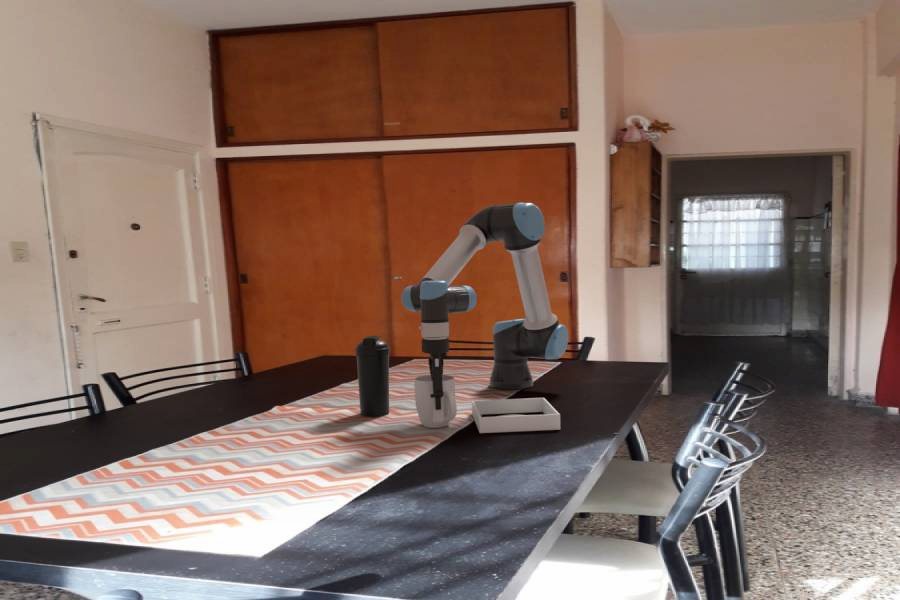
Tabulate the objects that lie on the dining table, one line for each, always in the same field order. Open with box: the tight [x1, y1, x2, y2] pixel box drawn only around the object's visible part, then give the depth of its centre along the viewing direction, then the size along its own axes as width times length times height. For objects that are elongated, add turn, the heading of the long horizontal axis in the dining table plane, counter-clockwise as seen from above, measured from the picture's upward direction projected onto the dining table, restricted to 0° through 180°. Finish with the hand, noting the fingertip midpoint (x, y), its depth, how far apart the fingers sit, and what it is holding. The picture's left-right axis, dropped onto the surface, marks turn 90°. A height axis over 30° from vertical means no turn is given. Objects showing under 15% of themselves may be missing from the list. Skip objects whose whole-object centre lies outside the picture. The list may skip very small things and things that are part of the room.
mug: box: [414, 374, 458, 429], centre depth 186 cm, size 15×11×13 cm
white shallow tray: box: [471, 397, 561, 434], centre depth 189 cm, size 21×21×4 cm
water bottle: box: [354, 335, 391, 418], centre depth 203 cm, size 10×10×23 cm
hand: (437, 415), depth 187 cm, fingers closed on mug, 13 cm apart
